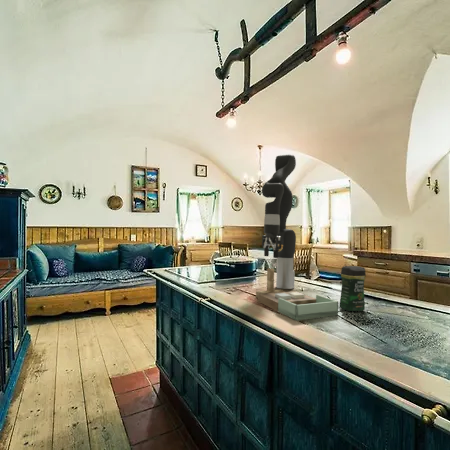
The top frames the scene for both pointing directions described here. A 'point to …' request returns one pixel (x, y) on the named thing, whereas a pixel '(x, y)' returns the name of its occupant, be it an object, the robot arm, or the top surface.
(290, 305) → the box
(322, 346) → the top surface
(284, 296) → the grey tile
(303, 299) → the walnut plate
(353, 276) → the coffee jar
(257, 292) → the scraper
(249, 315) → the top surface
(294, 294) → the cream tile
